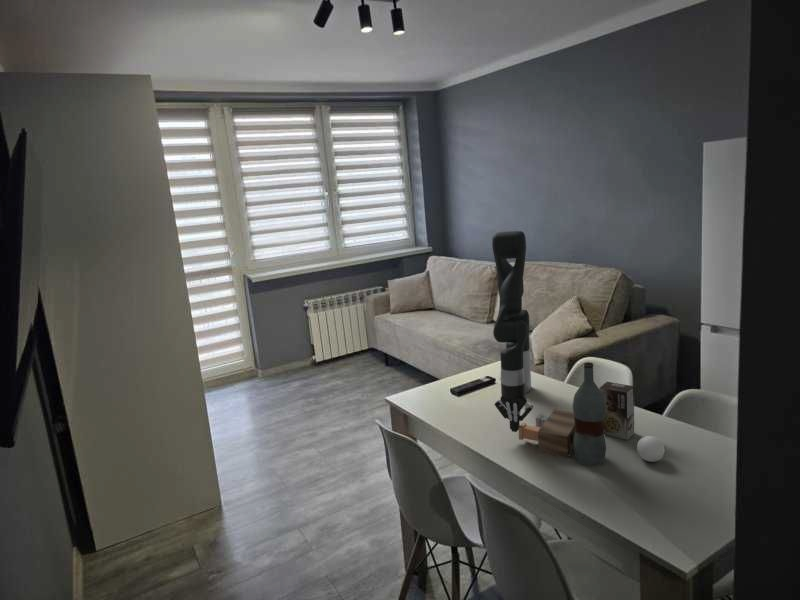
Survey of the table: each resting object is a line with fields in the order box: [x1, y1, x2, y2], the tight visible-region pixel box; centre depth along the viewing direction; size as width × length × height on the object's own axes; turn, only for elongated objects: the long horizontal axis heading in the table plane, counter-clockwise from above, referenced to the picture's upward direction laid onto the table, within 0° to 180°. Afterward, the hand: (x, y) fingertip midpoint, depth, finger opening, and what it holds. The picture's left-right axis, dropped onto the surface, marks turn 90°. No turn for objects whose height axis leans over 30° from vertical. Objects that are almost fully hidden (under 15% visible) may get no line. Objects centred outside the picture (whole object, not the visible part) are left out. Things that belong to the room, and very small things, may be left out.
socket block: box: [537, 408, 575, 458], centre depth 170 cm, size 18×9×7 cm, turn 148°
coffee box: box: [598, 381, 635, 440], centre depth 172 cm, size 9×6×16 cm
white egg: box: [634, 435, 665, 463], centre depth 157 cm, size 10×7×7 cm
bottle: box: [572, 361, 607, 467], centre depth 157 cm, size 9×9×30 cm
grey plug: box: [535, 412, 550, 428], centre depth 175 cm, size 4×13×4 cm, turn 58°
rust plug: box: [518, 422, 540, 442], centre depth 169 cm, size 4×13×4 cm, turn 58°
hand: (514, 430), depth 174 cm, fingers closed
